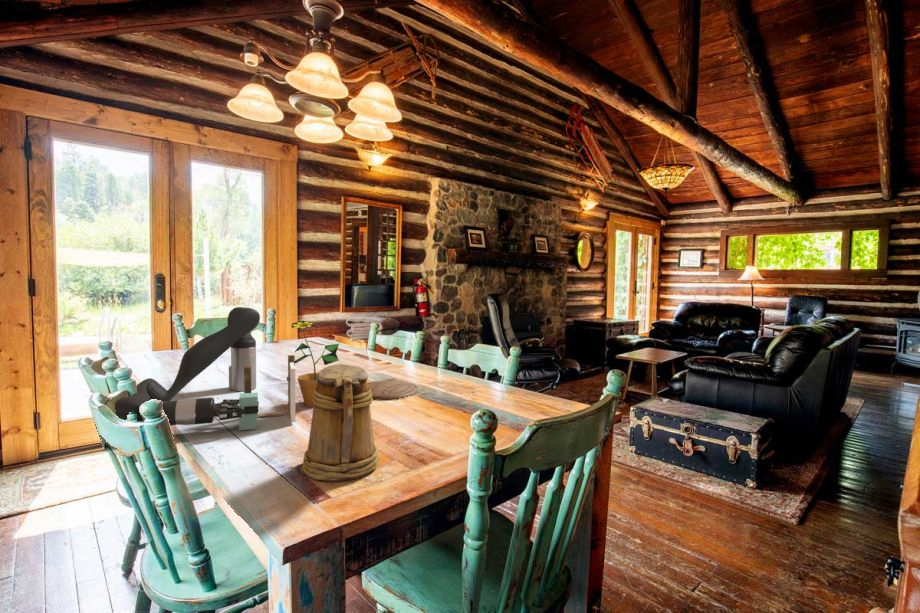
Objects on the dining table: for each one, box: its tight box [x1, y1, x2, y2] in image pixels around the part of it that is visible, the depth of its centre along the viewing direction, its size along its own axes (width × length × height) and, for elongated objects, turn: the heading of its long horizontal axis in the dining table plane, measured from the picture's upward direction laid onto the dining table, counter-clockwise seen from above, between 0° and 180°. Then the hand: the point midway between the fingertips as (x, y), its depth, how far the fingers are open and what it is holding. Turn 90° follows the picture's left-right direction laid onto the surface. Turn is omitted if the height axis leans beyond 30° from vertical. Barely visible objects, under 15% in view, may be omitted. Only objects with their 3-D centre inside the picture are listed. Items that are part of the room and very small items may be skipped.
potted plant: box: [290, 320, 340, 407], centre depth 166 cm, size 18×19×30 cm
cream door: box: [286, 362, 296, 423], centre depth 147 cm, size 10×2×17 cm, turn 23°
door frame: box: [243, 354, 296, 419], centre depth 151 cm, size 15×3×20 cm, turn 113°
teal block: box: [238, 392, 259, 431], centre depth 139 cm, size 5×5×10 cm
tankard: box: [302, 363, 380, 483], centre depth 111 cm, size 18×24×25 cm
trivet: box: [367, 380, 419, 401], centre depth 186 cm, size 25×25×2 cm
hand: (258, 407), depth 140 cm, fingers closed on teal block, 5 cm apart
